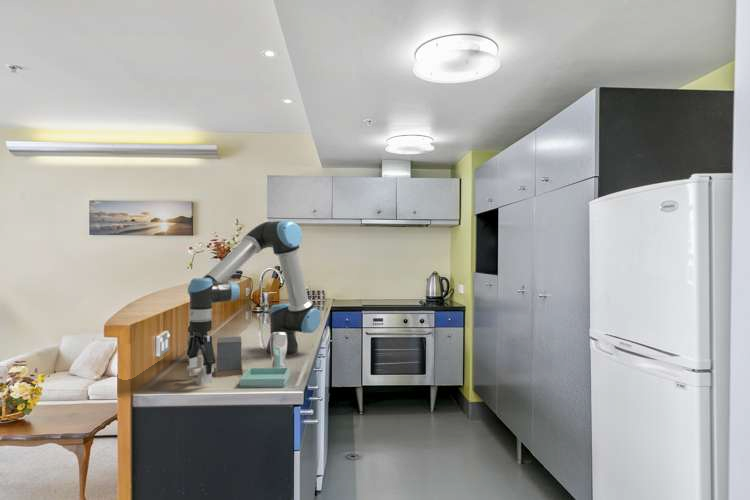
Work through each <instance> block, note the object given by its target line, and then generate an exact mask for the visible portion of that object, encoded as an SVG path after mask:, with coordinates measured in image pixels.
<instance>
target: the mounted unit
mask: <svg viewBox="0 0 750 500" xmlns="http://www.w3.org/2000/svg"><path fill="white" fill-rule="evenodd" d="M214 374H215V376H214V377H215V378H217V377H219V378H220V377H230V376H231V377H232V376H233V375H234V376H243V375H244V374H243V362H242V336H222V337H218V338H217V342H216V367H215V373H214Z"/></svg>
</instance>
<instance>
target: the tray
mask: <svg viewBox="0 0 750 500" xmlns="http://www.w3.org/2000/svg"><path fill="white" fill-rule="evenodd" d="M290 376H291V367H286V368H271V367H249V368H248V369H247V370H246V372H245V373H244V374H243V375H241V377H240V379H239V389H240V388H241V389H249V388H250V389H251V388H253V387H255V388H256V387H263V388H285V387H286V385H287V382H288V380H289V378H290Z"/></svg>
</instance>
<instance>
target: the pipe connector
mask: <svg viewBox="0 0 750 500" xmlns="http://www.w3.org/2000/svg"><path fill="white" fill-rule="evenodd" d="M203 364H204V361H203V355H200V356H198V362H197V367H194V366H189V365H187V366H186V371H187V372H189V371H190V375H191V376H190V377H194V376H197V385H202V384H204V383H203V377H204V366H203ZM214 372H215V368H214V367H212V374H213V373H214ZM196 374H197V375H196ZM193 375H194V376H193Z"/></svg>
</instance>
